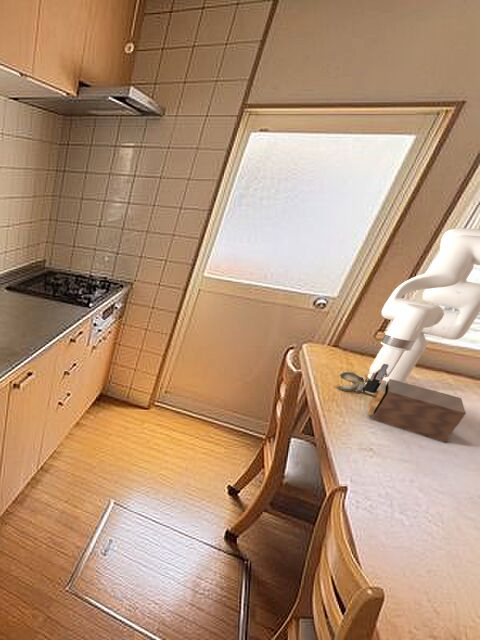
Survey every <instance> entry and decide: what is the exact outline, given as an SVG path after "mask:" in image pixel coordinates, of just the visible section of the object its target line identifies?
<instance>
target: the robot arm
mask: <svg viewBox="0 0 480 640" xmlns="http://www.w3.org/2000/svg"><path fill="white" fill-rule="evenodd" d="M475 265H476V266H480V229H477V228H465V227H463V228H462V227H460V228H459V227H456V228H452V229H448V230H447V231H446V232H444V234H443V235H442V237H441V240H440V244H439V252H438V254H437V255H436V257H435V258H434V259H433V261H432V263H431V264H430V265H429V267H428V269H427V270H426V271H425V273H422V274H419V275H416V276H413V277H411V278H410V279H408V280H405V281H404V282H402V283H401V284H399V285H398V286H397V287H396V288H395V289H394V290H393V291H392V293H391V294H390V296H389V297H388V299H387V300H386V302H385V303H384V305H383V307H382V309H381V313H380V314H381V316H382V317H383V318H384V319H386V320H390V321H391V324H390V325H389V327H388V329H387V330H386V332H385V334H384V336H383V338H382V339H381V341H380V344H381V345H382V346H381V348H380V349H379V351H378V352H377V355H376V356H375V358H374V360H373V361H372V363H371V364H370V366H369V373H368V374H367V380H368V382H367V383H366V385H365V387H364V391H365V392H366V393H370V394H374V393H376V391H377V389H378V388H379V386H380V384H381V381H382V380H384V381H386V384H387V382H388V381H389V379H393V380H396V381H400V382H404V383H407V382H406V381H407V379H408V378H409V377H410V374H411V373H412V371H413V370H414V368H415V366H416V365H417V363H418V362H419V360H420V358H421V357H422V355H423V354H424V352H425V351H426V349H427V347H428V341H427V339H426V336H425V335H430V336H434V337H438V338H443V339H447V340H453V341H455V340H459V339H461V338H463V337H464V336H465V335H466V334H467V333H468V331H469V330H470V328H471V326H472V325H473V324H474V322H475V320H476V319H477V317H478V315H479V314H480V283H479V282H478V283H477V282H472V281H467V279H468V278H469V276H470V274H471V272H472V271H473V269H474V266H475ZM421 290H424V291H423V292H422V296H421V298H422V300H423V301H419V300H415V299H408V298H404V296H405V295H407V294H409V293H412V292H416V291H421ZM441 306H442V307H446V308H451V309H456V310H458V312H456V311H451V310H446V309H443V308H442V307H441ZM407 384H409V383H407Z"/></svg>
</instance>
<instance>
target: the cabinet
mask: <svg viewBox="0 0 480 640" xmlns="http://www.w3.org/2000/svg"><path fill="white" fill-rule="evenodd" d="M387 390H388V393H387V394H386V396H385V398H384V399H383V401H382V403H381V404H380V406H379V404H378V406H377V407H376V409H375V411H374V412H373V414H372V415H371V416H372V417H371V420H373V421H376V422H379V423H383V424H386V425H389V426H392V427H395V428H398V429H400V430H405V431H408V432H410V433H414V434H417V435H421V436H423V437H426V438H429V439H432V440H436V441H439V442H442V443H446V442H447V440H448V439H449V437H450V436H451V435H452V434H453V432H454V431H455V429H456V428H457V426H458V425H459V424H460V422H461V421H462V419H463V418H464V417H465V415H466V414H467V413H466V410H465V405H464V402H463V399H462V397H459V396H455V395H451V394H448V393H444V392H441V391H437V390H434V389H430V388H425V387H422V386H418V385H414V384H411V383H408V384H407V382H406V383H404V382H400V381H396V380H393V379H389V381H388V382H387V384H386V389H385V393H386V392H387ZM384 395H385V394H384ZM383 397H384V396H383ZM383 397H382V398H383ZM381 400H382V399H381ZM380 402H381V401H380ZM380 402H379V403H380Z"/></svg>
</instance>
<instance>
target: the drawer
mask: <svg viewBox="0 0 480 640" xmlns="http://www.w3.org/2000/svg"><path fill="white" fill-rule="evenodd" d="M362 389H364V387H363V385H358V387H357V390H355V393H356V394H357V395H361V394H362V395H365V396H368V397H371V398H370V399H369V401H368V406H367V412H366V415H367V416H372V415H373V412H374V411H375V409H376V407H377V406H378V404H379V406H380V404H381V403H382V401H383V399H384V398H385V396H386V394H387V393H388V390H387V392H386V393H385V389H386V381H384V380H382V381H381V384H380V386H379V388H378V389H377V391H376V393H370V392H366V391H365V392H363V390H362ZM384 394H385V395H384ZM383 396H384V397H383ZM382 397H383V398H382ZM381 399H382V400H381ZM380 401H381V402H380ZM379 402H380V403H379Z"/></svg>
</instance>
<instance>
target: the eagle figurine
mask: <svg viewBox="0 0 480 640" xmlns="http://www.w3.org/2000/svg"><path fill="white" fill-rule="evenodd" d="M339 377H340V379H342V380H344V381H347V382H349V383H352V384H346V385H345V384H344V385H339V386H337V389H339V390H341V391H345V392H346V391H347V392H348V391H349V392H351V391H357V387H358V385H363V387H365V385H366V383H367V382H368V380H369V379H368V377H367V378H365V379H364V377H362V376H360V375H358V374H356V373H355V372H351V371H345V372H341V373H340V374H339ZM362 392H365V393H366V391H364V389H362Z"/></svg>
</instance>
